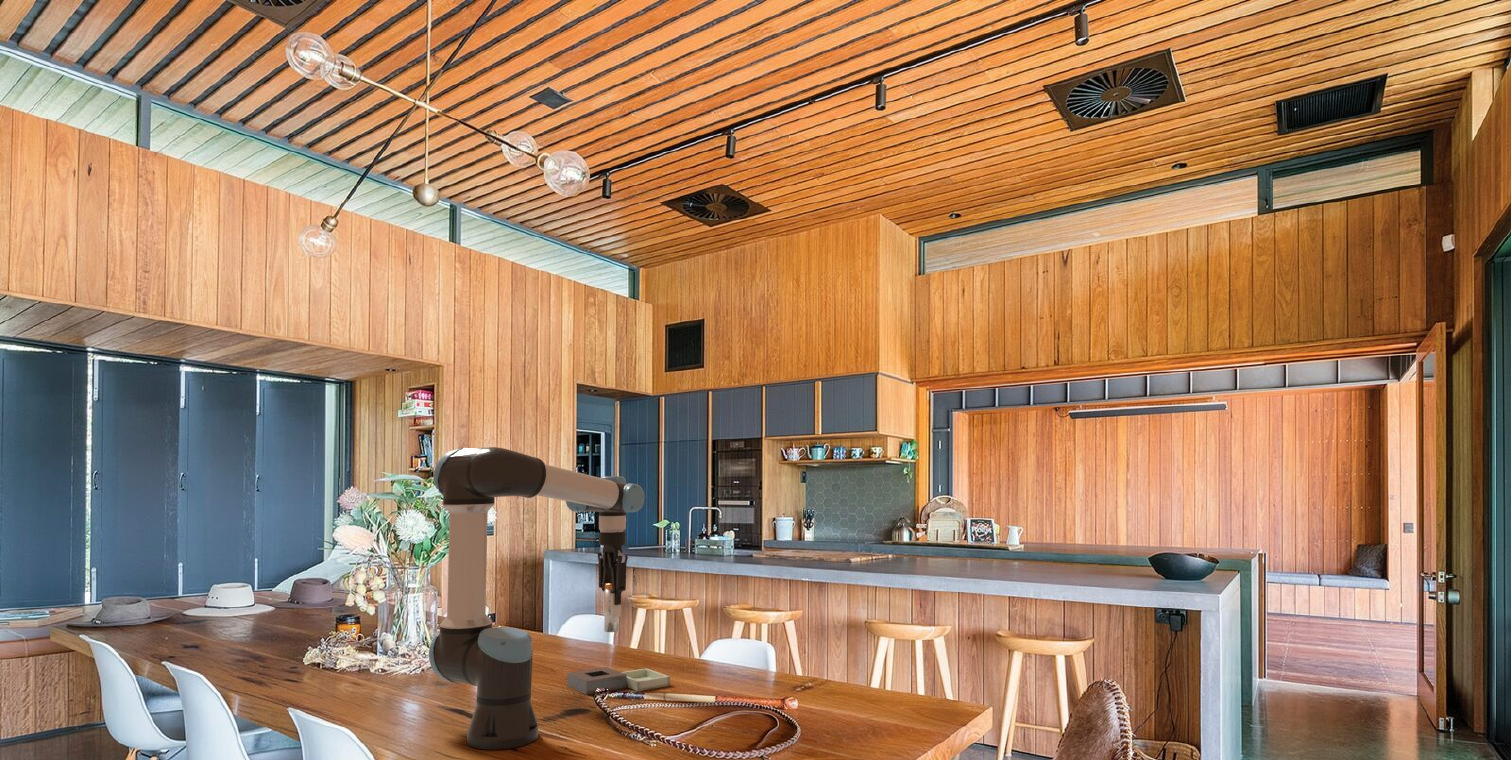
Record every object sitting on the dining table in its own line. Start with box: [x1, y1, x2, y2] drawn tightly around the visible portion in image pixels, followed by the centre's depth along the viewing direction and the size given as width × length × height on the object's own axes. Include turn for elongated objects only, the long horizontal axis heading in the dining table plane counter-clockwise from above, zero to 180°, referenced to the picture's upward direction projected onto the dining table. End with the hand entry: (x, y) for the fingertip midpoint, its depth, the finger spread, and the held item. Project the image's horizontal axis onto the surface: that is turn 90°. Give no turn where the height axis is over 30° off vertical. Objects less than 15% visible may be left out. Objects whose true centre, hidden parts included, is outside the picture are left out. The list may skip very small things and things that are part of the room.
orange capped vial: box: [603, 583, 620, 633], centre depth 237 cm, size 4×4×13 cm
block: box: [566, 666, 628, 695], centre depth 234 cm, size 12×12×4 cm
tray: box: [621, 668, 671, 692], centre depth 236 cm, size 10×13×2 cm
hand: (611, 615), depth 237 cm, fingers closed on orange capped vial, 4 cm apart
